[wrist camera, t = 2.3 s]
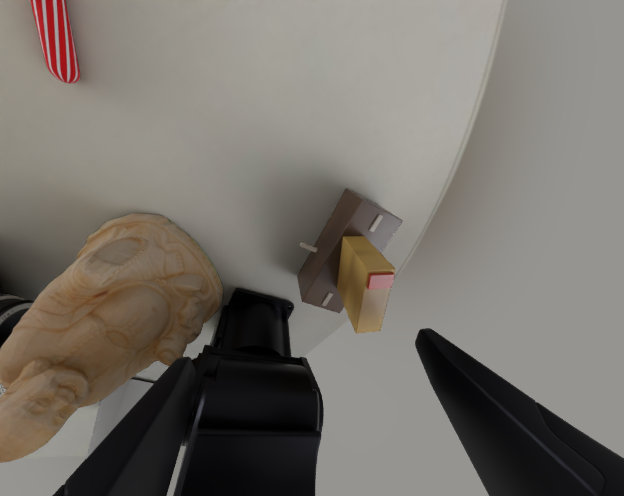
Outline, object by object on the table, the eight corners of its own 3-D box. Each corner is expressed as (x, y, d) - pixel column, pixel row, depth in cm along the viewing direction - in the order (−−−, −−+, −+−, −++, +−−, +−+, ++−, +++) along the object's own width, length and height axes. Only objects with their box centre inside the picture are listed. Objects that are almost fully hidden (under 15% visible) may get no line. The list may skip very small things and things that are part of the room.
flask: (184, 393, 28) (145, 511, 19) (146, 421, 29) (92, 544, 20) (129, 369, 25) (51, 497, 16) (89, 400, 26) (-6, 536, 17)
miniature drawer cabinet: (349, 294, 25) (362, 321, 22) (273, 268, 22) (274, 294, 18) (401, 217, 22) (427, 234, 18) (321, 174, 19) (333, 183, 15)
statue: (-262, 398, 9) (-195, 381, 6) (85, 229, 20) (165, 195, 17) (33, 489, 14) (142, 503, 12) (172, 316, 26) (243, 301, 23)
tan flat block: (356, 287, 20) (382, 334, 15) (336, 289, 19) (356, 336, 15) (364, 235, 18) (398, 271, 13) (342, 236, 17) (368, 272, 13)
